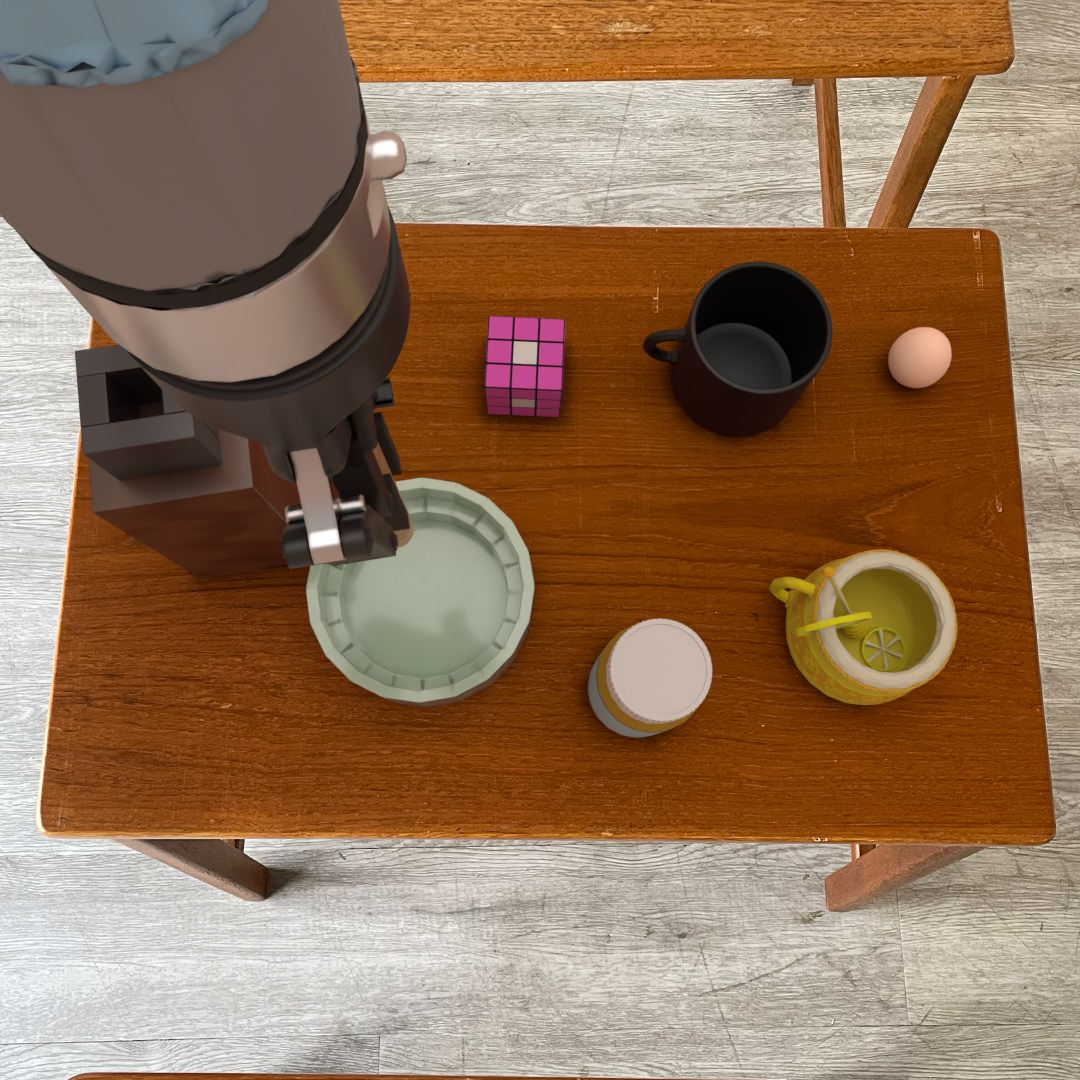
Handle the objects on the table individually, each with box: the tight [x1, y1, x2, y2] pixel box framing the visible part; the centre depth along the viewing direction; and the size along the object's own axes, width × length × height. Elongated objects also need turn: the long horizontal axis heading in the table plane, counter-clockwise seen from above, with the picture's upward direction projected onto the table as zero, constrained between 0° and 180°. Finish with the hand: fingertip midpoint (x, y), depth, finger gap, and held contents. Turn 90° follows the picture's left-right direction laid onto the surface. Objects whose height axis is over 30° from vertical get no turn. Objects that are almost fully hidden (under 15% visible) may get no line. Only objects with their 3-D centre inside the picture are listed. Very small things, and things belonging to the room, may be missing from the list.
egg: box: [887, 326, 953, 389], centre depth 79 cm, size 4×4×6 cm
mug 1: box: [642, 261, 834, 437], centre depth 77 cm, size 10×13×10 cm
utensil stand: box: [74, 344, 301, 579], centre depth 66 cm, size 9×9×25 cm
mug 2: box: [768, 548, 959, 706], centre depth 72 cm, size 13×11×12 cm
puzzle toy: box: [483, 315, 566, 418], centre depth 79 cm, size 6×6×6 cm
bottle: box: [587, 617, 714, 739], centre depth 69 cm, size 7×7×15 cm
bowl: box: [305, 477, 536, 708], centre depth 74 cm, size 16×16×6 cm
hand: (375, 498), depth 48 cm, fingers closed on stirring stick, 2 cm apart
